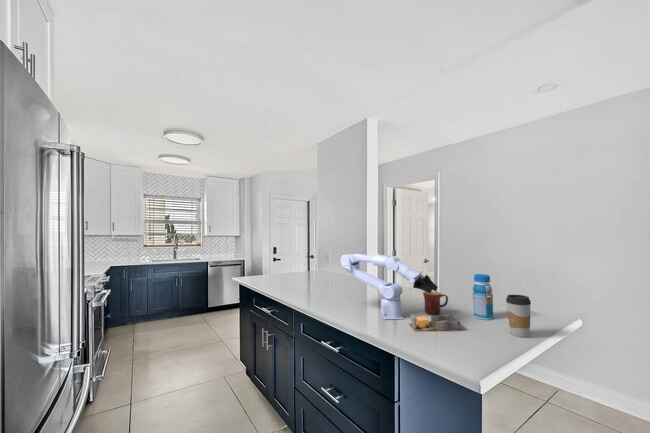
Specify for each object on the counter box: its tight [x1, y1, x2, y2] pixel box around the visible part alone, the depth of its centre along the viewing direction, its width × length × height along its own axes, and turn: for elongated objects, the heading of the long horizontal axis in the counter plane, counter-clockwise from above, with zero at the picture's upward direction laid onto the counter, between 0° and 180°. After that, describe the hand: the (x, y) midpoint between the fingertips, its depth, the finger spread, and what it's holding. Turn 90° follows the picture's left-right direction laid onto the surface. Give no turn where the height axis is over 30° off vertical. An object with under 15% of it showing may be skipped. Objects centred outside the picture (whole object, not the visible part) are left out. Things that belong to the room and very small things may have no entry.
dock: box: [408, 314, 461, 333], centre depth 128 cm, size 19×10×5 cm, turn 87°
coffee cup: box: [505, 294, 532, 339], centre depth 117 cm, size 8×8×15 cm
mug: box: [422, 290, 449, 316], centre depth 148 cm, size 12×9×10 cm
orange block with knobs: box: [410, 313, 429, 329], centre depth 128 cm, size 6×6×5 cm
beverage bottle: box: [472, 273, 495, 321], centre depth 140 cm, size 8×8×20 cm
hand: (434, 290), depth 131 cm, fingers open, 7 cm apart
